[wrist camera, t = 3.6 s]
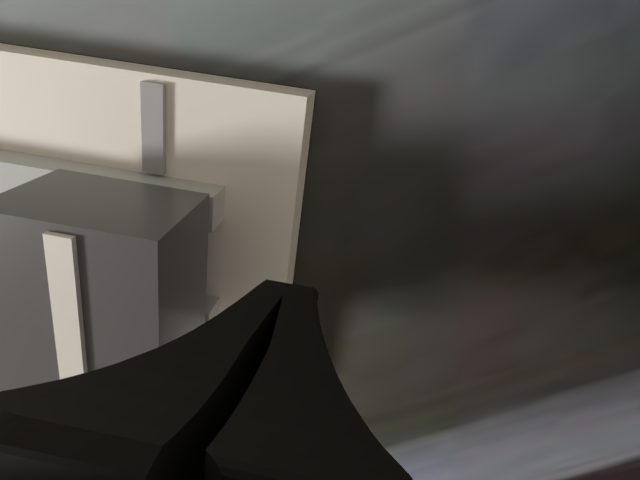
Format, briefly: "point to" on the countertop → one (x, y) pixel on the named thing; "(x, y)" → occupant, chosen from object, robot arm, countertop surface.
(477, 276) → the countertop surface
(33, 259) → the fader knob
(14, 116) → the fader console
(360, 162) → the countertop surface
